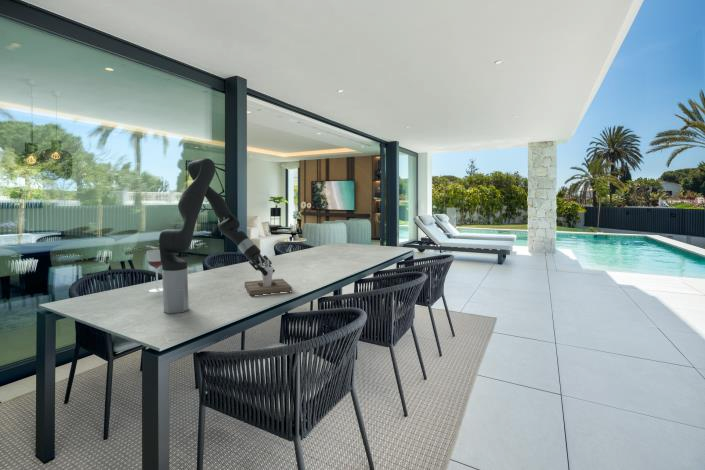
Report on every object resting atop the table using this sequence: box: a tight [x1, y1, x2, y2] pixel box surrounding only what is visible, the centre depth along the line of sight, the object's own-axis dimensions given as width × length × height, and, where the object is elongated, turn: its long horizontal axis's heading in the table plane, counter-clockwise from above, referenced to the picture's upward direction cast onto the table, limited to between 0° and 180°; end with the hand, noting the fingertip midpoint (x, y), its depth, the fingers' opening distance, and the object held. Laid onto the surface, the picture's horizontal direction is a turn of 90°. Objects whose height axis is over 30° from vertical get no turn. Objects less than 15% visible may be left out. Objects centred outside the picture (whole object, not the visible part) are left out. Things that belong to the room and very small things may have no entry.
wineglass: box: [145, 249, 163, 293], centre depth 178 cm, size 8×9×20 cm
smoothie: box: [261, 258, 275, 287], centre depth 181 cm, size 6×6×14 cm
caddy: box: [244, 278, 293, 297], centre depth 181 cm, size 20×20×3 cm
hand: (270, 273), depth 180 cm, fingers closed on smoothie, 6 cm apart
